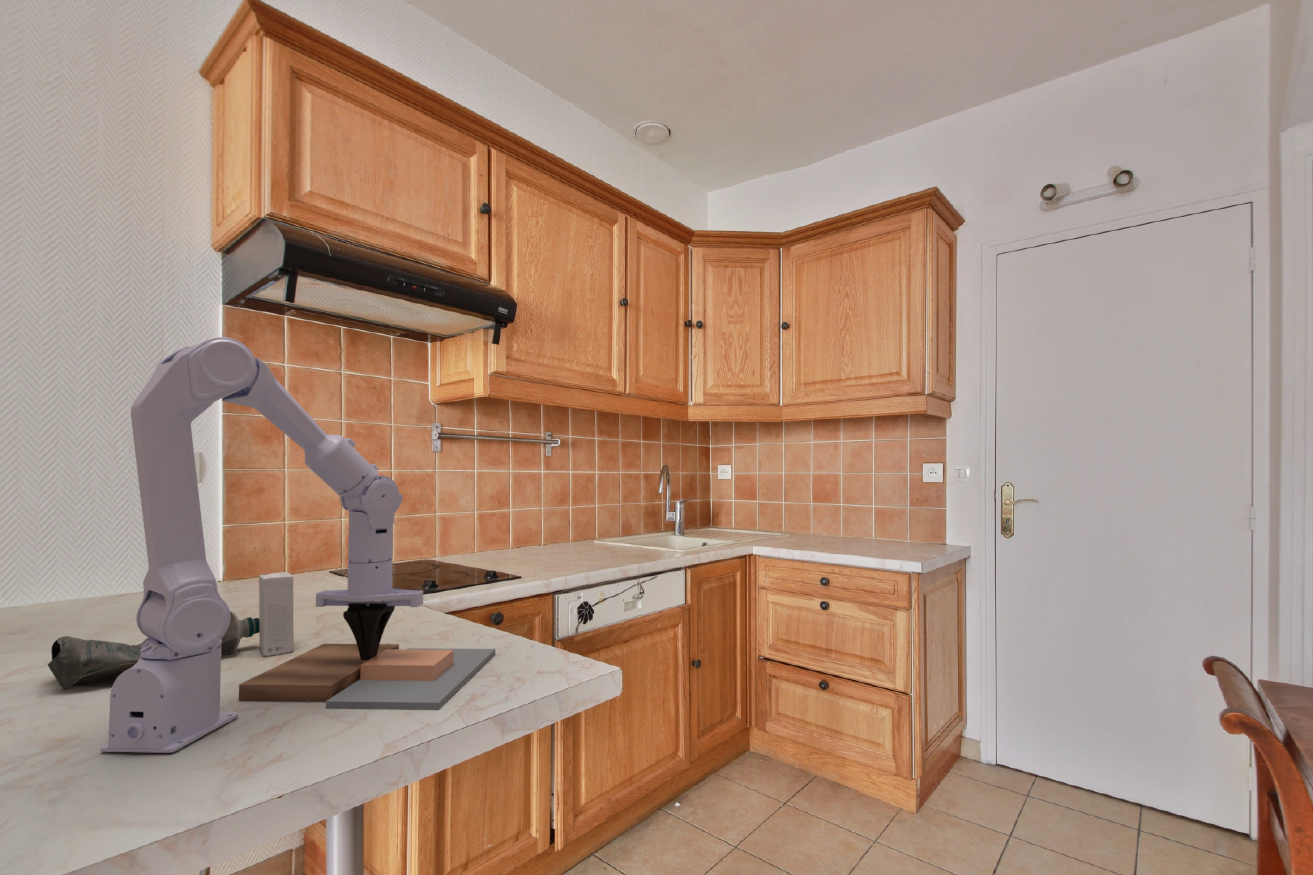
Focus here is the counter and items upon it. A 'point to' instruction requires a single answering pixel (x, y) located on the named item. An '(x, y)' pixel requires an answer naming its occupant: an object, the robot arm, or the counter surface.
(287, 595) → the skincare box
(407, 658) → the tile
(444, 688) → the mat
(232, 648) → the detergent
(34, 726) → the counter surface
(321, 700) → the deck
